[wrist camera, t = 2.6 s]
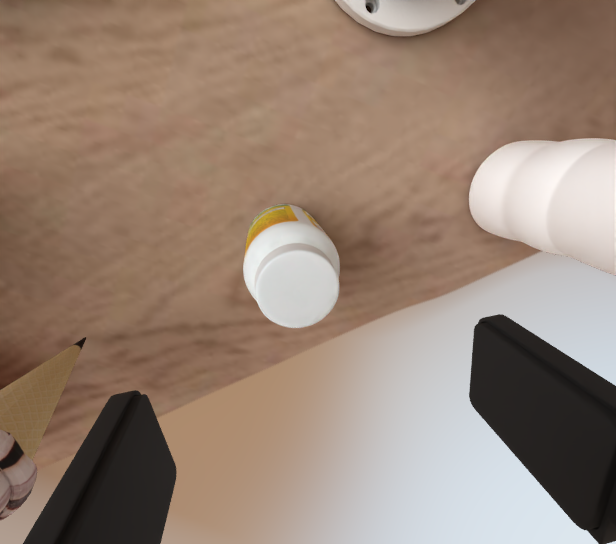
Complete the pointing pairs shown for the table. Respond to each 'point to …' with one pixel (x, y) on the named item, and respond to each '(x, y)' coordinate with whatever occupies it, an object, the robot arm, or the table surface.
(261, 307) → the supplement bottle
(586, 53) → the table surface
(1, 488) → the ice cream cone
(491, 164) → the water bottle
